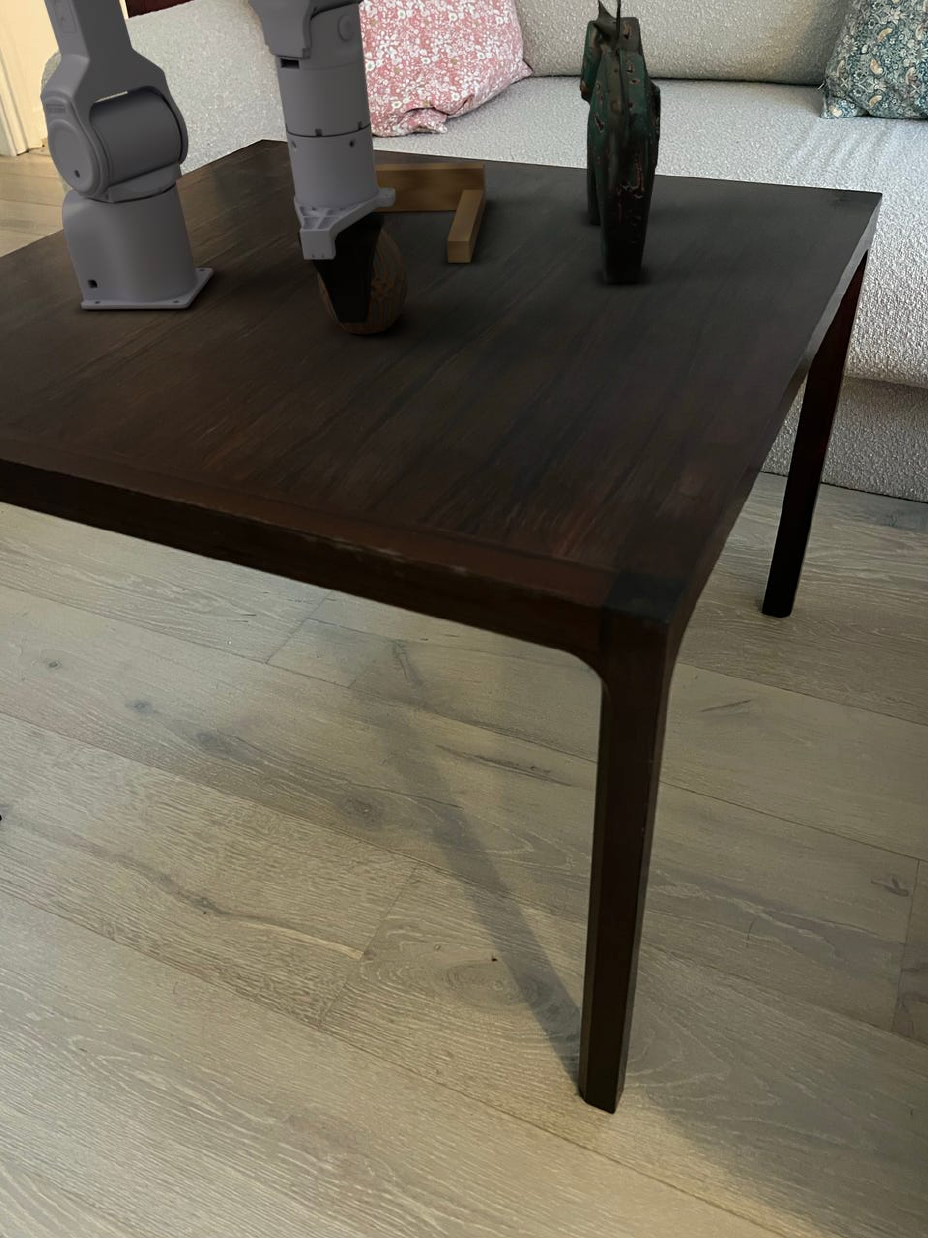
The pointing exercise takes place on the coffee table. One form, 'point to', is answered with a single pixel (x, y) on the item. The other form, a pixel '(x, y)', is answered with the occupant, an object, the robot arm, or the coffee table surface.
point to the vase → (379, 290)
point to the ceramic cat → (619, 140)
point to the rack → (440, 197)
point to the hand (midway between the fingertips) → (353, 319)
